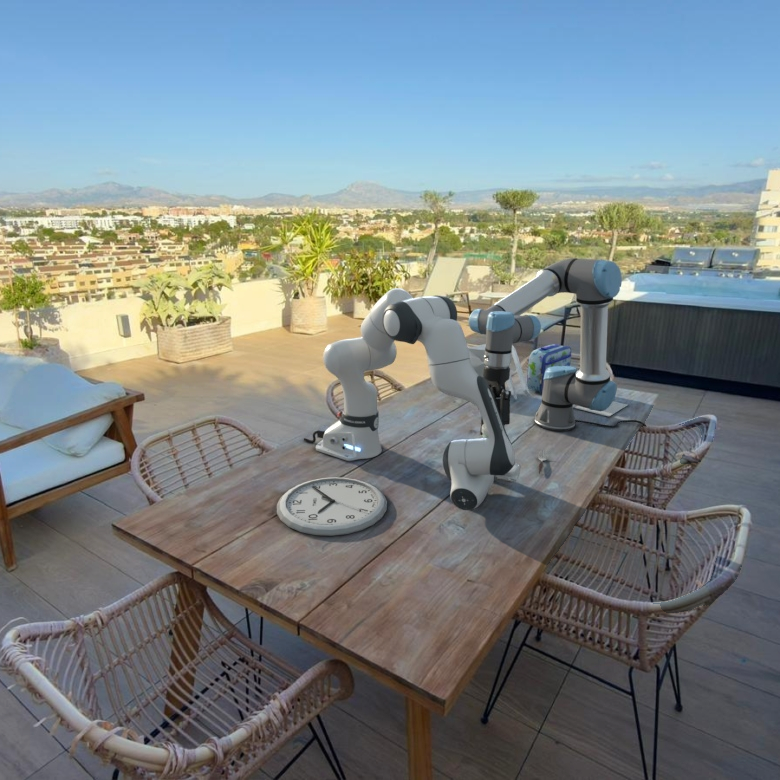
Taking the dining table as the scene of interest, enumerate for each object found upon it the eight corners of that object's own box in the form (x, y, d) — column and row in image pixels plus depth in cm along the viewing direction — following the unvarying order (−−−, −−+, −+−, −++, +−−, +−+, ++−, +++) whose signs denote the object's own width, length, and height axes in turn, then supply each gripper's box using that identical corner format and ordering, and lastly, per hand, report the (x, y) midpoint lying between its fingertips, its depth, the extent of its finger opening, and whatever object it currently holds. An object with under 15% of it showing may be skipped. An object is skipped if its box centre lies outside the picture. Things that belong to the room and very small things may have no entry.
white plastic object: (461, 429, 252) (437, 405, 227) (444, 352, 274) (420, 323, 250) (535, 404, 240) (518, 377, 215) (510, 326, 262) (492, 293, 237)
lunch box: (543, 396, 238) (548, 352, 231) (522, 391, 245) (526, 347, 239) (570, 385, 255) (575, 343, 249) (550, 381, 262) (555, 340, 256)
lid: (480, 435, 155) (481, 429, 154) (482, 427, 161) (482, 422, 160) (501, 437, 153) (502, 431, 153) (502, 429, 159) (502, 424, 159)
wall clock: (392, 527, 129) (268, 531, 127) (391, 533, 130) (269, 537, 127) (383, 473, 158) (282, 475, 155) (383, 478, 158) (282, 480, 156)
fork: (534, 474, 163) (535, 468, 162) (539, 454, 177) (539, 449, 176) (543, 475, 162) (544, 469, 161) (547, 455, 176) (547, 450, 175)
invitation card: (608, 416, 214) (573, 407, 224) (608, 416, 214) (573, 408, 224) (628, 404, 229) (594, 396, 238) (628, 405, 229) (594, 397, 238)
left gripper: (516, 472, 143) (525, 453, 155) (445, 458, 151) (459, 441, 163) (514, 492, 145) (523, 472, 157) (444, 478, 153) (457, 459, 165)
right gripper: (469, 358, 159) (464, 428, 166) (503, 376, 141) (496, 454, 147) (491, 356, 161) (486, 426, 168) (527, 374, 143) (520, 451, 150)
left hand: (490, 456), depth 160 cm, fingers closed on jar, 5 cm apart
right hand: (491, 439), depth 158 cm, fingers open, 7 cm apart
